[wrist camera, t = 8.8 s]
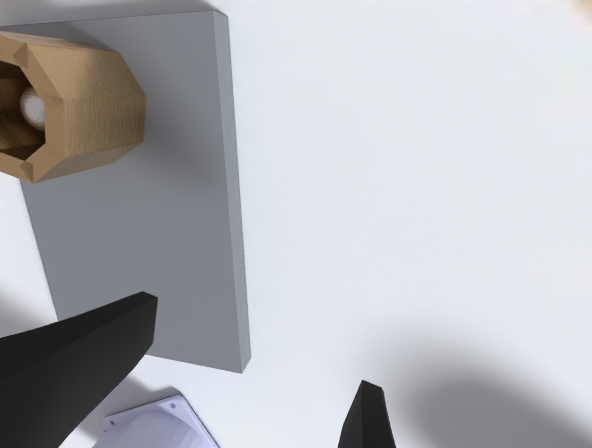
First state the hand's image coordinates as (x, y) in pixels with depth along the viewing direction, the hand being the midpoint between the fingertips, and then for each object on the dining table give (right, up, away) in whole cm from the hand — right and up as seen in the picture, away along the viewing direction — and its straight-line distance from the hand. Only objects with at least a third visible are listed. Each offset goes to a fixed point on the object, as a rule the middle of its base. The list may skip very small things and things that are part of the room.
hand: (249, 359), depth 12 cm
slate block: (-8, +5, +11) cm, 15 cm away
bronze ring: (-9, +11, +7) cm, 16 cm away
